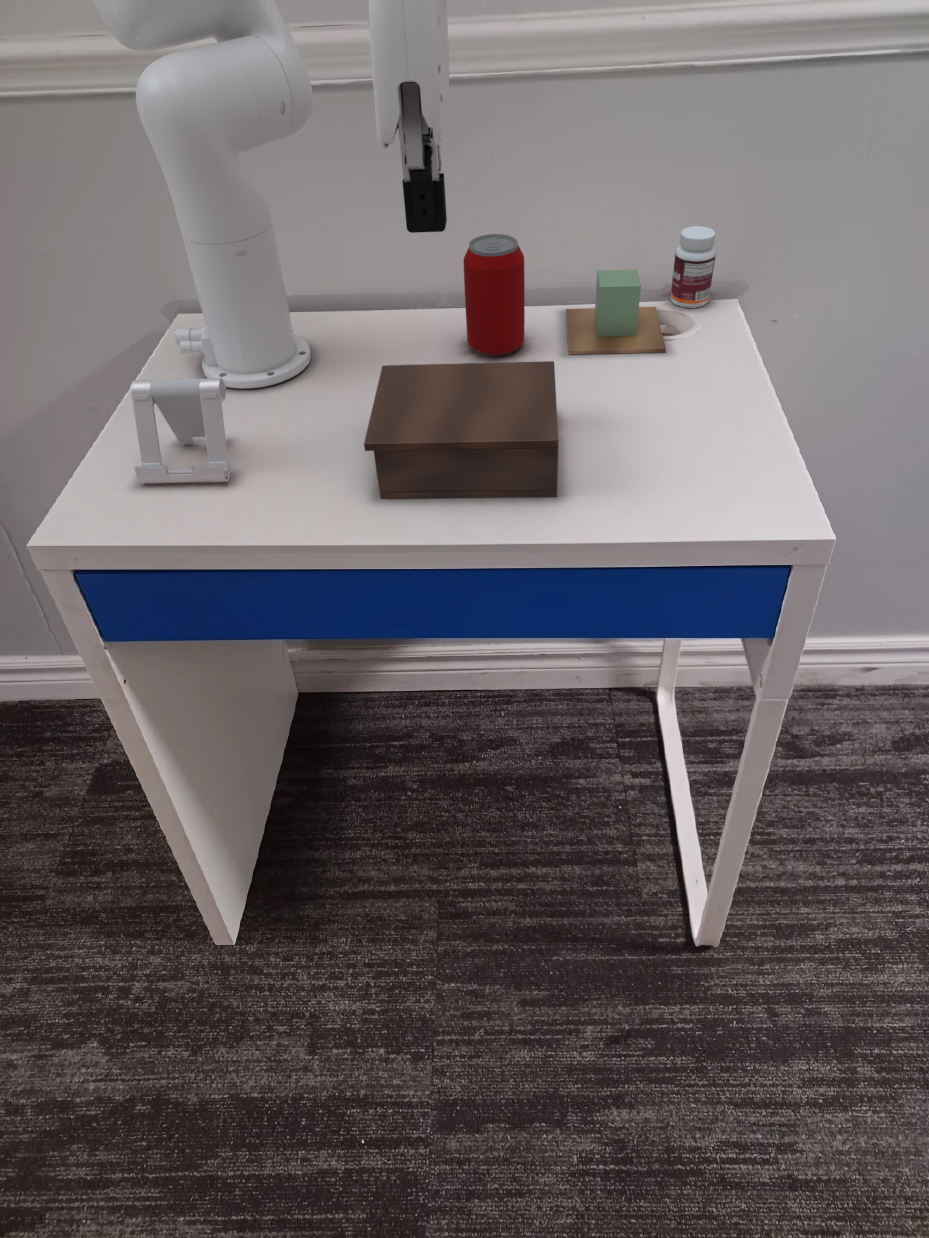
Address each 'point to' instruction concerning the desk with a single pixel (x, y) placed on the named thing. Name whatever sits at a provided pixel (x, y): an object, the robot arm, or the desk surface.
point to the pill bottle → (693, 267)
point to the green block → (617, 303)
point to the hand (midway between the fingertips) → (427, 228)
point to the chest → (467, 473)
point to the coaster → (587, 342)
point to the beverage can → (494, 294)
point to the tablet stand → (181, 427)
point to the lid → (464, 407)
